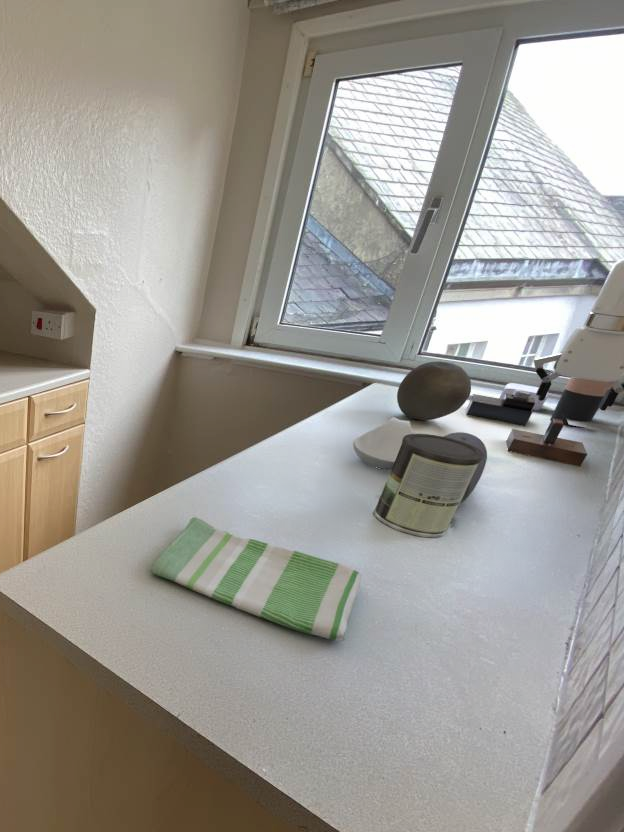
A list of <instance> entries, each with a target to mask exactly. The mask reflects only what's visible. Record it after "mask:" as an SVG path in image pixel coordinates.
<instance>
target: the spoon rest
mask: <svg viewBox="0 0 624 832" xmlns="http://www.w3.org/2000/svg"><path fill="white" fill-rule="evenodd" d="M408 434H414V431H413V429H412V425H411V421H410V420H402V419H399V418H396V417H391V418H389V419H388V420H387V421H386V422H384V423H382V424H381V425H379V426H377V427H375V428H373V429H371V430H368V431H367V432H365V433H363V434H361V435H360V436H358V437H357V438H356V439H354V440H353V442H352V446H353V450H354V452H355V454H356V456H357V457H358V458H359V459H360V460H361V461H362V462H363V463H365V464H366V463H367V464H366V465H368V464H369V465H368V466H370V465H371V466H370V467H372V466H374V467H373V468H375V467H377V468H376V469H378V468H380V469H379V470H383V469H385V470H384V471H391V470H392V467H393V465H394V462H395V460H396V457H397V455H398V452H399V450H400V447H401V445H402V440H403V437H404V436H406V435H408Z"/></svg>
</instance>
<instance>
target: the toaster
mask: <svg viewBox="0 0 624 832" xmlns="http://www.w3.org/2000/svg"><path fill="white" fill-rule="evenodd" d="M512 396H513V394H507V393H505V396H504V398H503V399H499V398H500V397H499V398H498V397H494V396H493V397H492V396H487V395H482V394H476V393H473V394H472V396H471V398H470V400H469V402H468V404H467V407H466V412H465V413H466V414H465V415H466V416H468V417H474V418H479V419H485V420H488V421H494V422H499V423H505V424H510V425H516V426H521V427H526V426H527V424H528V422H529V421H530V419H531V416H532V414H533V412H534V410H532V408H533V406H534V405H535V400H534V398H531V397H529V398H528V400H522V399H516V398H512Z"/></svg>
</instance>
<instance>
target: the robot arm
mask: <svg viewBox="0 0 624 832" xmlns="http://www.w3.org/2000/svg"><path fill="white" fill-rule="evenodd" d="M553 362H554V365H553V370H551V371H549V372H547V371H546V370H545V369H544V365H545V364H547V363H553ZM533 364H534V369H535V373H536V374H537V376H538V377H539V378H540V379H541V382H540V385H539V387H538V391H537V393H536V395H538V396H539V397H538V399H539V401H542V400H544V399H545V397H546V395H547V393H548V394H549V390H550V389H551V386H552V381H553V380H555V379H558V378H559V377H568V378H571V377H574V378H581V379H588V380H596V381H604V382H609V383H610V385H611V386H612V387H611V388H610V389H609V390H607V392H606V393H605V395H604V397H603V399H602V401H601V403H600V405H599V410H600V411H603V412H605V411H606V410H607V409H608V407H612V406H613V405H614V403H615V402H616V399H617V398H618V396H619V394H620V393H622V392H624V381H623V382H621V383H620V380H621V379H622V378H623V377H624V258H621V259H619V260H617V261H616V262H615V263H614V264H613V265H612V266H611V269H610V271H609V273H608V274H607V277H606V279H605V281H604V283H603V284H602V287H601V290H600V291H599V293H598V296H597V297H596V299H595V302H594V303H593V306H592V308H591V310H590V312H589V314H588V316H587V318H586V320H585V322H584V324H583V326H576V328H575V329H574V330H573V332H572V333H571V335H570V336H569V338H568V339H567V341H566V342H565V344H564V346H563V348H562V349H561V351H560V353H556V354H550V355H547V356H542V357H537V358H535V359H533ZM547 396H548V395H547Z"/></svg>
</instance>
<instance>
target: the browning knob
mask: <svg viewBox="0 0 624 832" xmlns="http://www.w3.org/2000/svg"><path fill="white" fill-rule="evenodd" d="M564 427H565V426H564V424H563V421H562V420H559V419H554V418H553V419H552V421H551V420H550V423H549V425H548V427H547V428H546V431H545V432H544V434H543V435H544V436H543V439H544V442H546V443H551V444H554V442H555V441H556V439H557V438H559V435H560V433H561V431H562V430H563V428H564Z"/></svg>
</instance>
